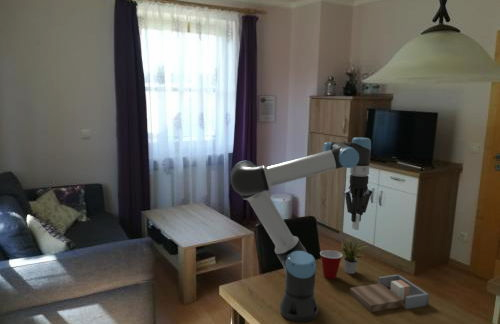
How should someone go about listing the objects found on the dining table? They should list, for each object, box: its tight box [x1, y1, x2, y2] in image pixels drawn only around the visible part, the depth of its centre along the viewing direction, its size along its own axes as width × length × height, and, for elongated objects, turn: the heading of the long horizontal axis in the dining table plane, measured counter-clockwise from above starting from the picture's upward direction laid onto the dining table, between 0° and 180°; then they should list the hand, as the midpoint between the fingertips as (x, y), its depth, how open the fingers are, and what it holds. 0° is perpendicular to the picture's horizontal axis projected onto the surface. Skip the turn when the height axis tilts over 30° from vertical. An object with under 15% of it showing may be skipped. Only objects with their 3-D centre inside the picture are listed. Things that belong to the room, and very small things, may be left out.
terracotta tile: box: [396, 280, 410, 301], centre depth 169 cm, size 6×6×2 cm
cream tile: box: [389, 281, 405, 301], centre depth 168 cm, size 6×6×2 cm
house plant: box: [340, 238, 369, 275], centre depth 191 cm, size 14×14×16 cm
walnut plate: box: [349, 283, 405, 313], centre depth 165 cm, size 16×15×3 cm
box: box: [377, 273, 430, 310], centre depth 169 cm, size 11×19×5 cm, turn 18°
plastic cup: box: [319, 250, 344, 280], centre depth 185 cm, size 11×11×12 cm
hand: (355, 228), depth 164 cm, fingers closed
